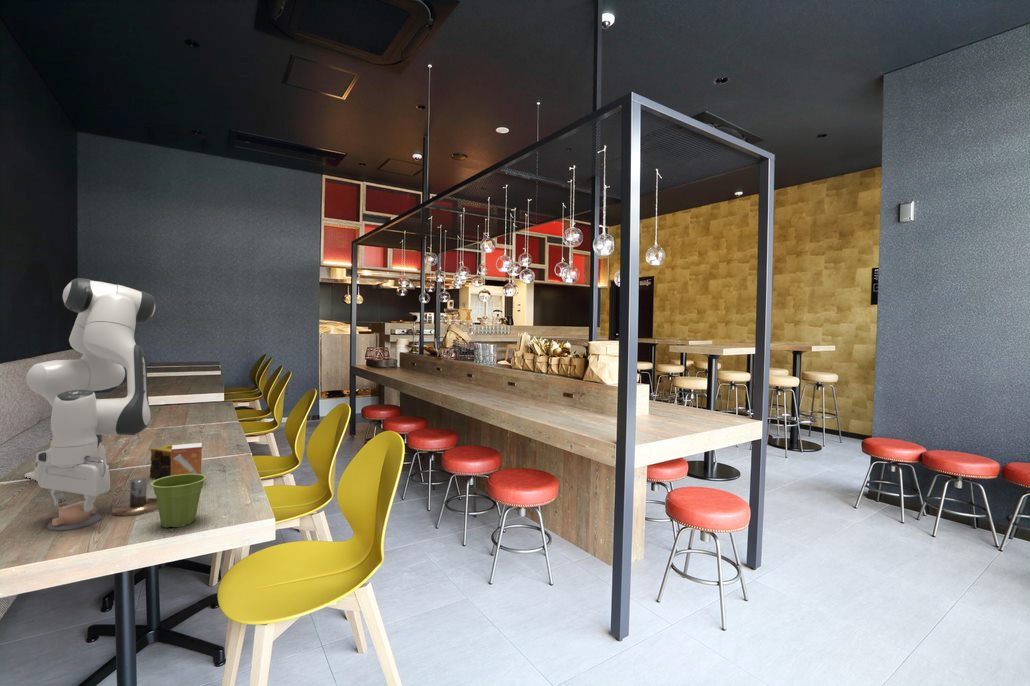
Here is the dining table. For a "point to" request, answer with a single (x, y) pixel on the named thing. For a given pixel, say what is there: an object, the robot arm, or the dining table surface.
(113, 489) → the dining table surface
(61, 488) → the robot arm
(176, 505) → the plant pot
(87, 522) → the pad
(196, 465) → the small box
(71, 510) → the cap
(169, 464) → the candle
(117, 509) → the brown wide round part
